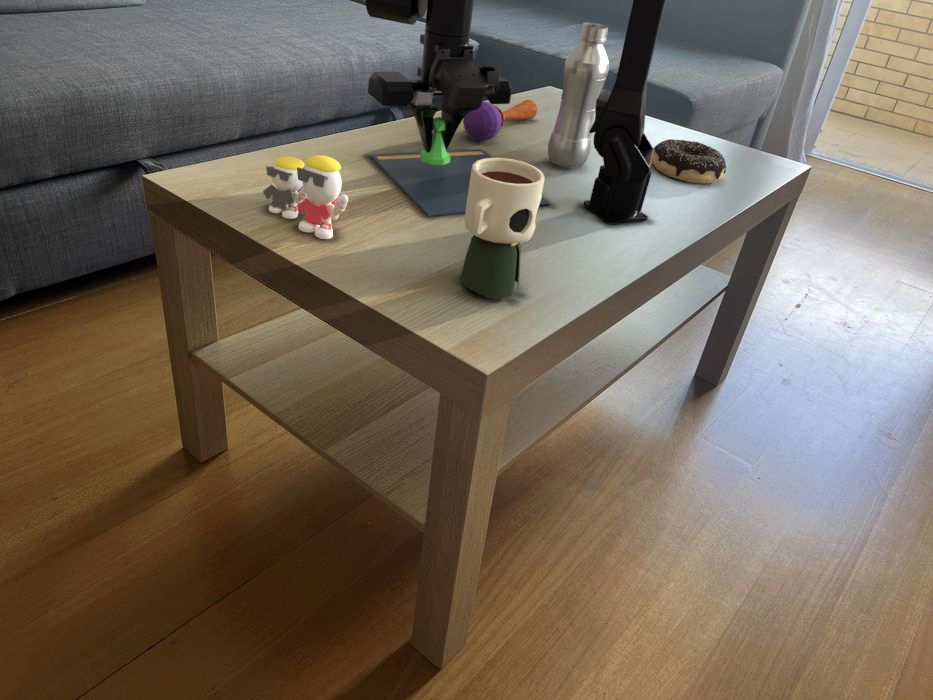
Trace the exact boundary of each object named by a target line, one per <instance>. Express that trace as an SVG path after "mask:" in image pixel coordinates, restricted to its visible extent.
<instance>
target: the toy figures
mask: <svg viewBox="0 0 933 700" xmlns="http://www.w3.org/2000/svg"><path fill="white" fill-rule="evenodd" d="M265 169H266V175H267V176H268V177H271V181H272V182H273V184H274V185H273V184H270V185H269V186H267V187H266V188H265V189H264V190H263V191H262V193H263V195H264V196H265V198H266V199H267V200H270V199H272V200H271V203H270V205H269V206H268V211H269V212H270V213H272V214H281V217H282V218H283V219H287V220H292V219H293V220H294V219H296V218H298V215H299V213H300V214H301V215H302V214H304V213H306V216H305V219H304V220H301V221H299V223H298V230H299V231H300V232H303V233H314V236H315V237H316V238H318V239H321V240H330V239H332V238H333V236H334V234H333V233H334V231H333V226H332V225H333V224H332V221H336V220H338V219H339V217H340V214H342V213H344V212H345V211H346V208H347V206H348V205H347V204H348V203H349V197H348V196H347V195H346V194H343V193H342V194H341V195H340V193H341V190H342V186H343V185H342V177H341V173H340V171H341V169H342V165H341V164H340V162H339V161H338V160H336V159H335V158H333V157H330V156H328V155H321V154H316V155H311V156H309V157H308V158H307V159H306V160H305V162H304V161H303V160H301V159H300V158H298V157H294V156H289V155H288V156H280V157H278V158H276V159H275V160H274V165H273V166H269V165H268V166H267V165H266V168H265ZM339 195H340V196H339Z"/></svg>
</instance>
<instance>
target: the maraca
mask: <svg viewBox="0 0 933 700" xmlns="http://www.w3.org/2000/svg"><path fill="white" fill-rule="evenodd" d="M537 114H538V107H537V104H536V103H535V101H534V100H531V99H526V100H523V101H522V102H519V103H518V104H515V105H513V106H512V107H510V108H508V109H506V110H504V111H502V109H500V108H499V107H498V106H496V105H495V104H491V103H490V102H489V101H485V100H483V102H482V105H481V107H480V108H479V109H478V110H473V111H471V112H470V113H468V114H467V115H466V116H465V117H464V118H463V120H462V123H463V129H464V131H465V133H466V134H467V135H468V136H469V137H471V138H472V139H473V140H474V141H478V142H485V141H486V142H487V141H490V140H492V139H493V138H495V137H496V136H497V135H498V133H499V132H500V130H501V129H502V127H503V125H504V123H505V121H520V120H521V121H525V120H526V121H527V120H532V119H534V118H535V117H536V116H537Z"/></svg>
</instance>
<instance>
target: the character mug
mask: <svg viewBox="0 0 933 700" xmlns="http://www.w3.org/2000/svg"><path fill="white" fill-rule="evenodd" d="M545 178H546V177H545V175H544V173H543V171H541V170H540V169H538V168H537V167H536V166H534V165H532V164H529V163H527V162H525V161H521V160H517V159H513V158H506V157H505V158H504V157H491V158H485V159H481V160H477V161H476V162H475V163H474V164H473V165H472V169H471V176H470V183H469V190H468V197H467V205H466V212H465V213H464V225H465V229H466V230H467V231H468V232H469V233H470V234H471V235H472V236H471V238H470V242H469V244H468V248H467V251H466V254H465V258H464V262H463V266H462V269H461V274H460V278H459V281H460V282H461V283H462V285H463V286H464V287H466V288H467V289H470V290H471V291H472V292H474V293H477V294H478V295H480V296H483V297H485V298H486V299H504V298H505V299H506V298H509V297H512V296H513V295H514V289H515V283H516V285H517V286H516V292H518V291H519V290H520V289H519V287H520V279H521V278H520V276H521V257H522V255H521V254H522V244H523V243H526V242H528V241H530V240H531V239H532V237H533V235H534V232H535V230H536V218H537V212H538V210H539V207H540V206H539V204H540V201H541V197H542V196H543V189H544V184H545Z"/></svg>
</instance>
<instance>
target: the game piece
mask: <svg viewBox="0 0 933 700" xmlns="http://www.w3.org/2000/svg"><path fill="white" fill-rule="evenodd" d="M444 130H446V121H445V120H443V119H442V118H441V116H436V117H433V134H432V146H431V150H430V152H428V153H427V151H425V149H423V150H421V151H420V158H421V160H422V161H423V162H426V163H429V164H432V165H445V164H447V163H449V162H450V155H449V153H448V152H446V151H447V150H446V148H445V144H444V140H443V137H442V133H441V131H444Z"/></svg>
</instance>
